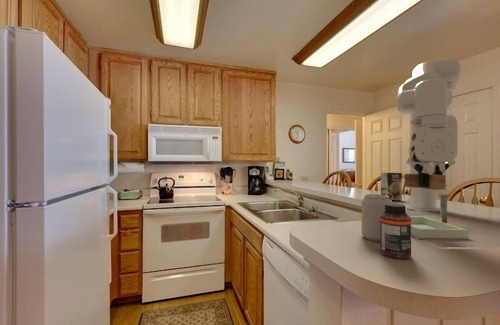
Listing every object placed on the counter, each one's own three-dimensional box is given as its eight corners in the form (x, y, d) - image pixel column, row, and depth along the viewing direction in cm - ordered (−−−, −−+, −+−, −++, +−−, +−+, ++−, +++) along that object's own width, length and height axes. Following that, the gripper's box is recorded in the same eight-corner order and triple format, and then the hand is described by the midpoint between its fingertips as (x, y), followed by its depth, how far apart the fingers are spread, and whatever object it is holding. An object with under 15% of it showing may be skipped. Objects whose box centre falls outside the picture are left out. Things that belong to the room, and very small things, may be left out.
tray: (384, 224, 82) (384, 216, 82) (423, 224, 81) (423, 216, 81) (419, 239, 64) (419, 229, 65) (468, 240, 64) (468, 229, 64)
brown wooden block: (400, 185, 78) (400, 173, 78) (421, 186, 78) (421, 173, 78) (426, 189, 66) (426, 174, 66) (452, 189, 66) (452, 175, 66)
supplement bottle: (388, 248, 58) (388, 201, 58) (416, 256, 53) (416, 205, 53) (374, 253, 55) (374, 203, 55) (403, 262, 50) (402, 207, 50)
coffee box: (388, 201, 134) (388, 172, 134) (380, 199, 140) (380, 172, 141) (402, 201, 136) (402, 172, 136) (393, 199, 142) (393, 172, 142)
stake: (419, 220, 87) (419, 192, 87) (444, 221, 87) (444, 192, 87) (443, 228, 76) (443, 196, 76) (472, 229, 76) (471, 196, 76)
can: (397, 243, 61) (397, 197, 61) (365, 241, 63) (365, 196, 63) (386, 235, 69) (386, 193, 69) (358, 233, 70) (358, 192, 70)
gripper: (410, 121, 66) (410, 187, 66) (470, 121, 66) (471, 188, 65) (394, 125, 73) (394, 185, 73) (448, 125, 73) (448, 186, 73)
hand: (430, 186), depth 69 cm, fingers closed on brown wooden block, 3 cm apart
